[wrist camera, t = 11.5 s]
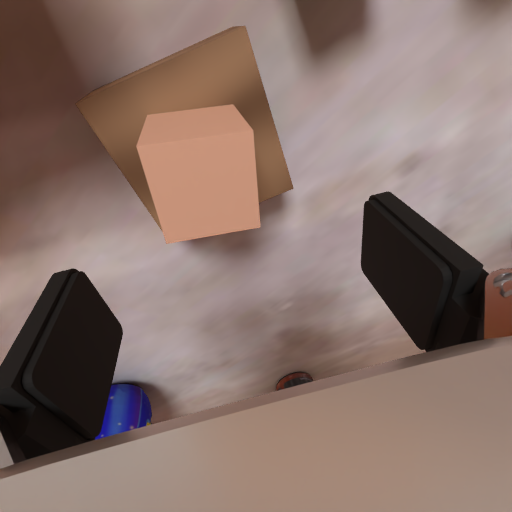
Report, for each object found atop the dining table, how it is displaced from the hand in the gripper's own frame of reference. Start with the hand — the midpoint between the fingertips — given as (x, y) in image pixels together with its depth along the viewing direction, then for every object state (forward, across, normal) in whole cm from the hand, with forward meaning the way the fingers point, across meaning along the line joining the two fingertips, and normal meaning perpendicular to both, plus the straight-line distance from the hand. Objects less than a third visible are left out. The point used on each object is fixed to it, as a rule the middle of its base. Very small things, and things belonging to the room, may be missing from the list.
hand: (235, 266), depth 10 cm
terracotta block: (+12, +1, 0) cm, 12 cm away
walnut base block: (+17, +1, 0) cm, 17 cm away
